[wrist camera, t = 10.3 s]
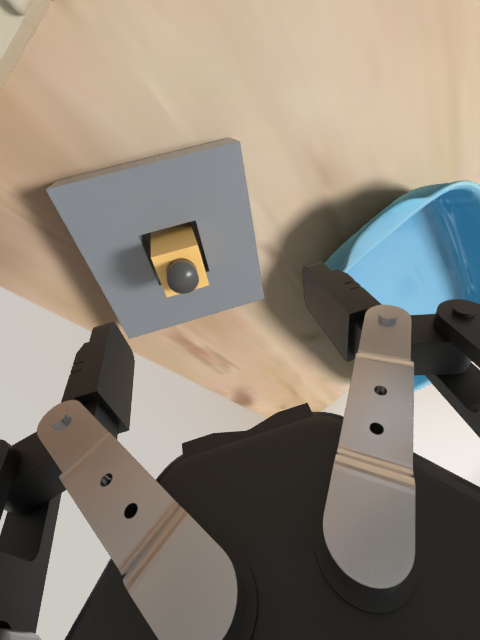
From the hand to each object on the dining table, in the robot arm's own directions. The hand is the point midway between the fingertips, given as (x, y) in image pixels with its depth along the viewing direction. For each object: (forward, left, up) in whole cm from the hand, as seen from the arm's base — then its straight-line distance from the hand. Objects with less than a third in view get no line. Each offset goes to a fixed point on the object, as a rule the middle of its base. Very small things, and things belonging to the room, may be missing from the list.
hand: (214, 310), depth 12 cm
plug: (+2, +4, -20) cm, 21 cm away
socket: (+2, +4, -21) cm, 22 cm away
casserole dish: (-27, +21, -22) cm, 41 cm away
